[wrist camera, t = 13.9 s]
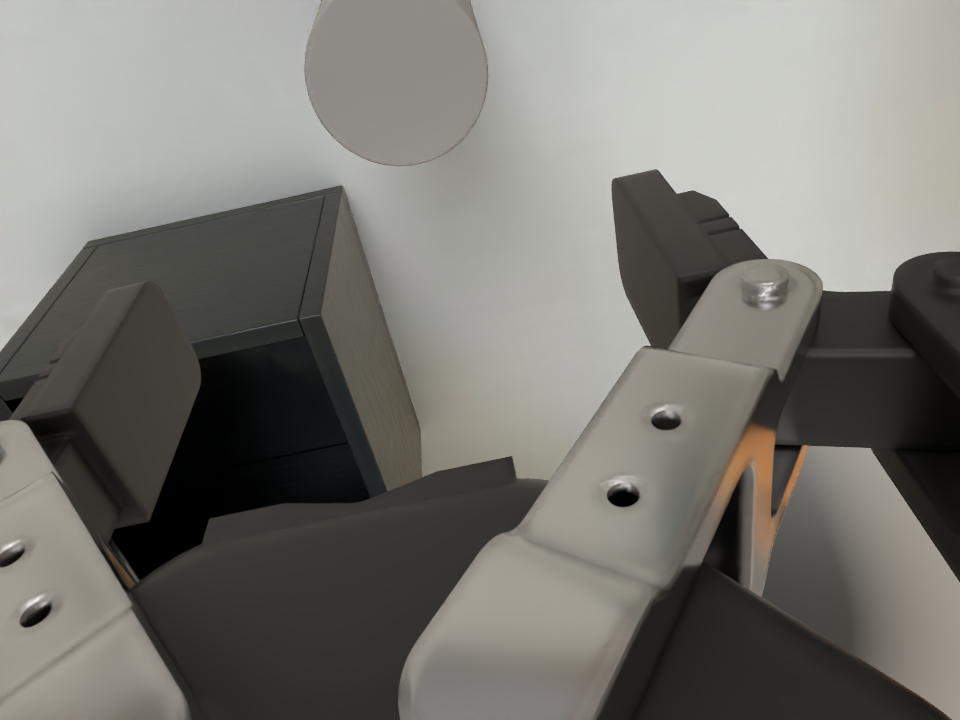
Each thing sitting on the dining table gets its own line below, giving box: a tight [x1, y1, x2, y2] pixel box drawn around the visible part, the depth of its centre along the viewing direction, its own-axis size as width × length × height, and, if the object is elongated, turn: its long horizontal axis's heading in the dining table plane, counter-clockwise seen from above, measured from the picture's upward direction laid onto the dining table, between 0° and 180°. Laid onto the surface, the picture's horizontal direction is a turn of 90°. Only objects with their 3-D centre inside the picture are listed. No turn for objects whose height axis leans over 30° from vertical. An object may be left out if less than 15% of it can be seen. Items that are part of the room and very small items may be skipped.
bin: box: [0, 186, 422, 580], centre depth 34 cm, size 16×13×12 cm
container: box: [305, 0, 488, 166], centre depth 24 cm, size 5×5×15 cm
